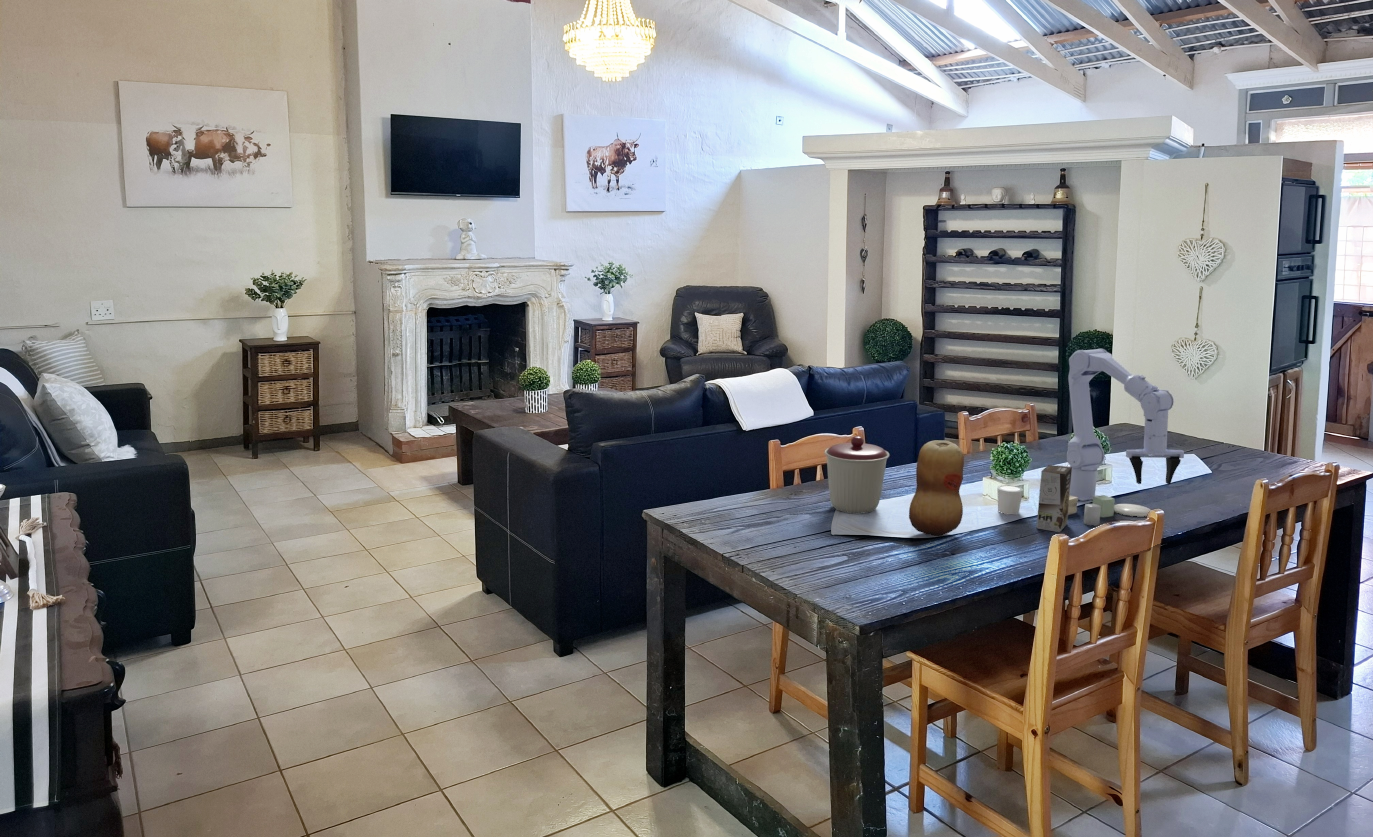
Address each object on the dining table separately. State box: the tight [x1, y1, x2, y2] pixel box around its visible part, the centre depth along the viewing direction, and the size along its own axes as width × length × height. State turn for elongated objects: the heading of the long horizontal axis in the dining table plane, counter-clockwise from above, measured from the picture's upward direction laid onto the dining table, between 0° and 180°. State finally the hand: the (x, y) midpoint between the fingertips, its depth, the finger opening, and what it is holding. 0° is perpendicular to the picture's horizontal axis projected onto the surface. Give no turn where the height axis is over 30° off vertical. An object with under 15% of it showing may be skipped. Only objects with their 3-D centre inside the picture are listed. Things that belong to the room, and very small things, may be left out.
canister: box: [824, 435, 890, 514], centre depth 287 cm, size 18×18×21 cm
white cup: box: [997, 484, 1024, 515], centre depth 287 cm, size 7×7×7 cm
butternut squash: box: [908, 439, 965, 537], centre depth 264 cm, size 14×13×25 cm
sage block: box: [1092, 494, 1116, 518], centre depth 285 cm, size 4×4×5 cm
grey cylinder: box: [1083, 503, 1101, 527], centre depth 277 cm, size 4×4×5 cm
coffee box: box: [1036, 464, 1072, 533], centre depth 273 cm, size 9×6×16 cm
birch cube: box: [1068, 495, 1079, 516], centre depth 287 cm, size 4×4×4 cm
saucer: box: [1114, 503, 1152, 518], centre depth 288 cm, size 10×10×1 cm
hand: (1153, 483), depth 280 cm, fingers open, 7 cm apart
